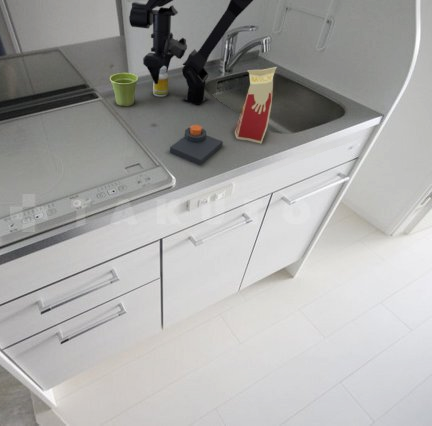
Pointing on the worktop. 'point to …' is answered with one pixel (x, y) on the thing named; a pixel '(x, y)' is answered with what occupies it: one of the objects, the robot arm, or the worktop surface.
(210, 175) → the worktop surface
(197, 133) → the button
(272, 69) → the red snack bag
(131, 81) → the plant pot
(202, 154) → the scale
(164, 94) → the supplement bottle
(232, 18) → the robot arm
